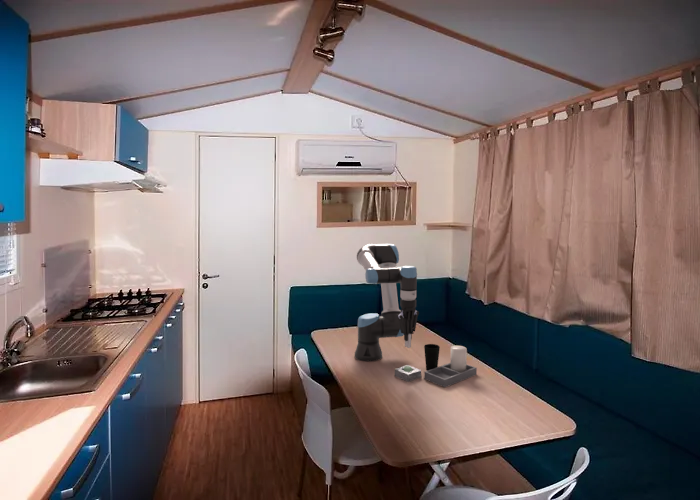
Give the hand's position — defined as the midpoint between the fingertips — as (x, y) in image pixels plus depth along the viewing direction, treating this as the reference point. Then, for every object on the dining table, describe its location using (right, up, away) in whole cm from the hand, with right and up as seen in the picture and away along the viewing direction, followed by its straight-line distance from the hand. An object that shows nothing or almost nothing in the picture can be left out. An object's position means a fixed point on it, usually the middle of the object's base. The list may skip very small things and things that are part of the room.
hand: (407, 346), depth 200 cm
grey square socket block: (0, -15, +1) cm, 15 cm away
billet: (+25, -13, +4) cm, 29 cm away
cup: (+13, -14, +10) cm, 22 cm away
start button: (0, -14, +1) cm, 14 cm away
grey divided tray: (+21, -15, +1) cm, 25 cm away
